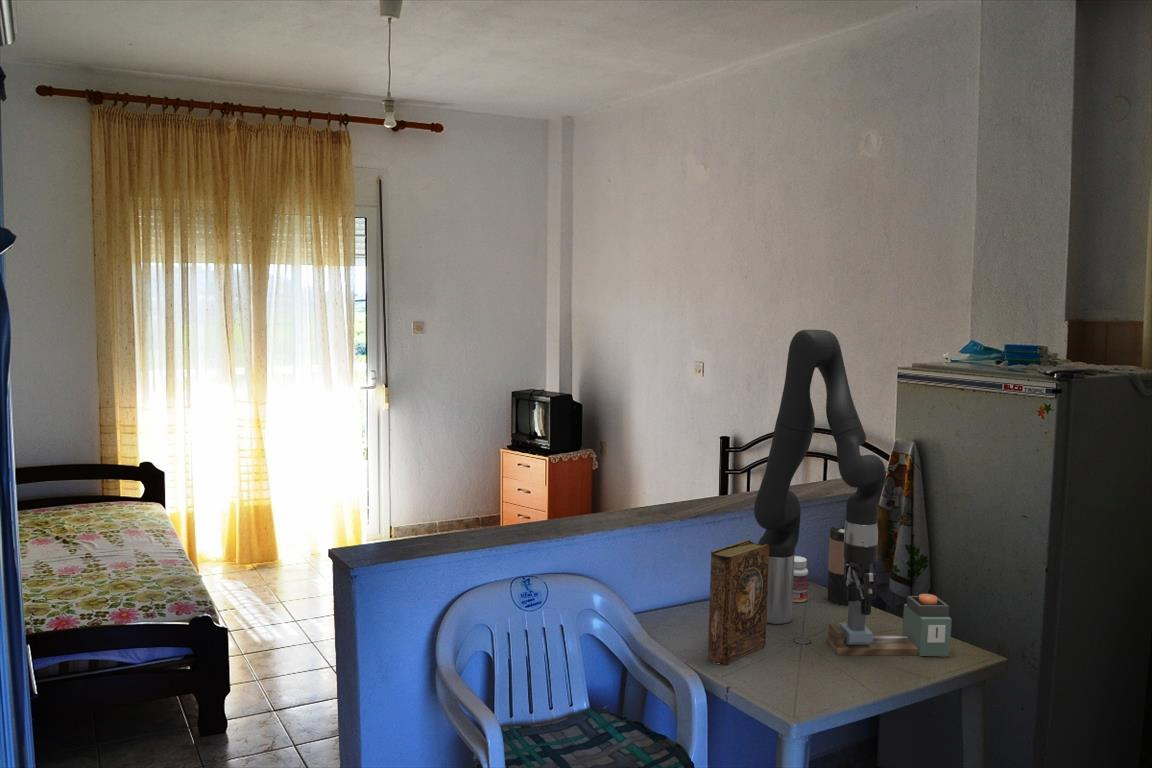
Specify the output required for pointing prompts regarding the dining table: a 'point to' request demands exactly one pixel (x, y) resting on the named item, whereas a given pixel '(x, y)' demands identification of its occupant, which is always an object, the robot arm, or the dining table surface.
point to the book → (738, 601)
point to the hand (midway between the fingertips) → (858, 608)
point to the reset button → (927, 599)
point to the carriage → (856, 626)
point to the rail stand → (870, 645)
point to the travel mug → (836, 568)
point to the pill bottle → (800, 579)
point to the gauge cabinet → (927, 627)
